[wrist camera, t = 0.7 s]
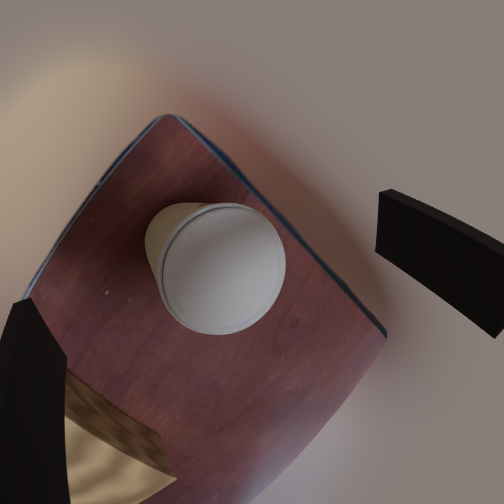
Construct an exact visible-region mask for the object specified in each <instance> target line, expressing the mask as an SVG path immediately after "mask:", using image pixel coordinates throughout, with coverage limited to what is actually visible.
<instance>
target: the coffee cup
mask: <svg viewBox="0 0 504 504" xmlns="http://www.w3.org/2000/svg"><path fill="white" fill-rule="evenodd" d="M145 251H146V255H147V258H148V261H149V264H150V266H151V269H152V272H153V274H154V277H155V279H156V282H157V284H158V287H159V291H160V295H161V297H162V300H163V302H164V304H165V306H166V308H167V309H168V311H169V312H170V313H171V315H172V316H173V317H174V318H175V319H176V320H177V321H179V322H180V323H181V324H182V325H184V326H185V327H187V328H189V329H191V330H193V331H196V332H199V333H204V334H212V335H224V334H230V333H235V332H238V331H241V330H243V329H245V328H247V327H249V326H251V325H252V324H254V323H255V322H256V321H258V320H259V319H260V318H261V317H262V316H263V315H264V314H265V313H266V312H267V311H268V310H269V309H270V308H271V306H272V305H273V303H274V302H275V300H276V298H277V297H278V294H279V292H280V290H281V287H282V284H283V280H284V275H285V253H284V249H283V245H282V242H281V240H280V238H279V236H278V234H277V232H276V230H275V228H274V227H273V226H272V224H271V223H270V222H269V221H268V220H267V219H266V218H265V217H264V216H263V215H262V214H261V213H259V212H257V211H256V210H254V209H252V208H250V207H247V206H244V205H241V204H236V203H217V204H213V203H178V204H173V205H170V206H168V207H166V208H164V209H163V210H161V211H160V212H159V213H158V214H157V215H156V216H155V217H154V218H153V219H152V221H151V222H150V224H149V226H148V228H147V231H146V235H145Z"/></svg>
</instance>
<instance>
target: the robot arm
mask: <svg viewBox="0 0 504 504" xmlns="http://www.w3.org/2000/svg"><path fill="white" fill-rule="evenodd" d="M375 252H376V253H378V254H379V255H381V256H382V257H384V258H385V259H387V260H388V261H390V262H391V263H393V264H394V265H396V266H397V267H398V268H400V269H401V270H403V271H404V272H406V273H407V274H408V275H410V276H411V277H413V278H414V279H416V280H417V281H418V282H420V283H421V284H423V285H424V286H425V287H427V288H428V289H429V290H431V291H432V292H434V293H435V294H437V295H438V296H439V297H441V298H442V299H443V300H445V301H446V302H447V303H449V304H450V305H451V306H453V307H454V308H455V309H457V310H458V311H459V312H461V313H462V314H463V315H464V316H466V317H467V318H468V319H470V320H471V321H472V322H474V323H475V324H476V325H477V326H479V327H480V328H481V329H483V330H484V331H485V332H486V333H488V334H489V335H490V336H491V337H492V338H494V339H495V338H496V337H497V336H498V335H499V334H500V332H501V331H502V330H503V329H504V244H503V243H501V242H499V241H498V240H496V239H494V238H492V237H490V236H489V235H487V234H485V233H483V232H481V231H479V230H478V229H475V228H474V227H472V226H470V225H468V224H466V223H464V222H462V221H460V220H458V219H456V218H454V217H452V216H450V215H448V214H446V213H444V212H442V211H440V210H438V209H435V208H434V207H431V206H429V205H427V204H425V203H423V202H421V201H418V200H416V199H413V198H412V197H409V196H407V195H405V194H403V193H400V192H398V191H395V190H393V189H389V190H386V191H382V192H379V205H378V223H377V237H376V249H375ZM66 367H67V356H66V355H65V353H64V352H63V350H62V349H61V347H60V346H59V344H58V343H57V341H56V340H55V338H54V336H53V335H52V333H51V332H50V330H49V328H48V327H47V325H46V323H45V322H44V320H43V318H42V317H41V315H40V313H39V312H38V310H37V308H36V306H35V304H34V303H33V301H32V299H31V298H28V299H25V300H22V301H19V302H16V303H14V304H13V306H12V309H11V311H10V314H9V316H8V319H7V322H6V325H5V328H4V330H3V333H2V336H1V339H0V504H71V501H70V493H69V485H68V475H67V463H66V446H65V384H66Z"/></svg>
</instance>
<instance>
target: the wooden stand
mask: <svg viewBox="0 0 504 504" xmlns="http://www.w3.org/2000/svg"><path fill="white" fill-rule="evenodd" d="M65 446H66V463H67V475H68V485H69V493H70V501H71V504H138V503H140V502H142V501H143V500H145V499H147V498H148V497H150V496H152V495H153V494H155V493H156V492H158V491H160V490H161V489H163V488H164V487H166V486H167V485H169V484H170V483H172V482H173V481H175V480H176V479H177V478H176V476H175V474H174V471H173V469H172V467H171V465H170V462H169V460H168V458H167V455H166V453H165V450H164V448H163V445H162V443H161V441H160V438H159V436H158V435H156V434H155V433H153V432H152V431H150V430H148V429H147V428H145V427H144V426H142V425H141V424H139V423H137V422H136V421H134V420H133V419H131V418H130V417H128V416H127V415H125V414H124V413H123V412H121V411H120V410H118V409H117V408H115V407H114V406H113V405H111V404H110V403H108V402H107V401H106V400H104V399H103V398H102V397H100V396H99V395H98V394H96V393H95V392H94V391H93V390H91V389H90V388H89V387H87V386H86V385H85V384H84V383H82V382H81V381H80V380H79V379H78V378H76V377H75V376H74V375H73V374H72V373H70V372H69V371H68V370H67V369H66V384H65Z"/></svg>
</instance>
